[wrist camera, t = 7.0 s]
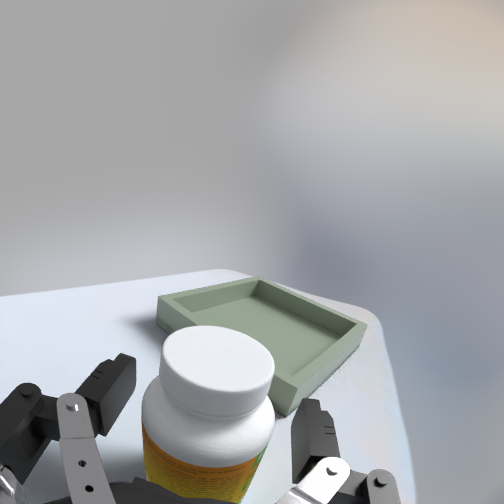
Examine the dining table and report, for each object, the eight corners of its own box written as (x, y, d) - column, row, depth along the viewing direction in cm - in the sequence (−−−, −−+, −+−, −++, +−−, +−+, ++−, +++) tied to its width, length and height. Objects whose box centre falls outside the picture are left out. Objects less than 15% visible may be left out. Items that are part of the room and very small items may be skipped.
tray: (155, 322, 28) (158, 296, 28) (253, 296, 41) (258, 275, 40) (286, 417, 19) (297, 388, 18) (358, 346, 32) (367, 324, 31)
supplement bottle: (248, 525, 10) (314, 411, 8) (141, 516, 9) (123, 391, 7) (239, 453, 15) (279, 324, 13) (151, 443, 14) (156, 306, 12)
